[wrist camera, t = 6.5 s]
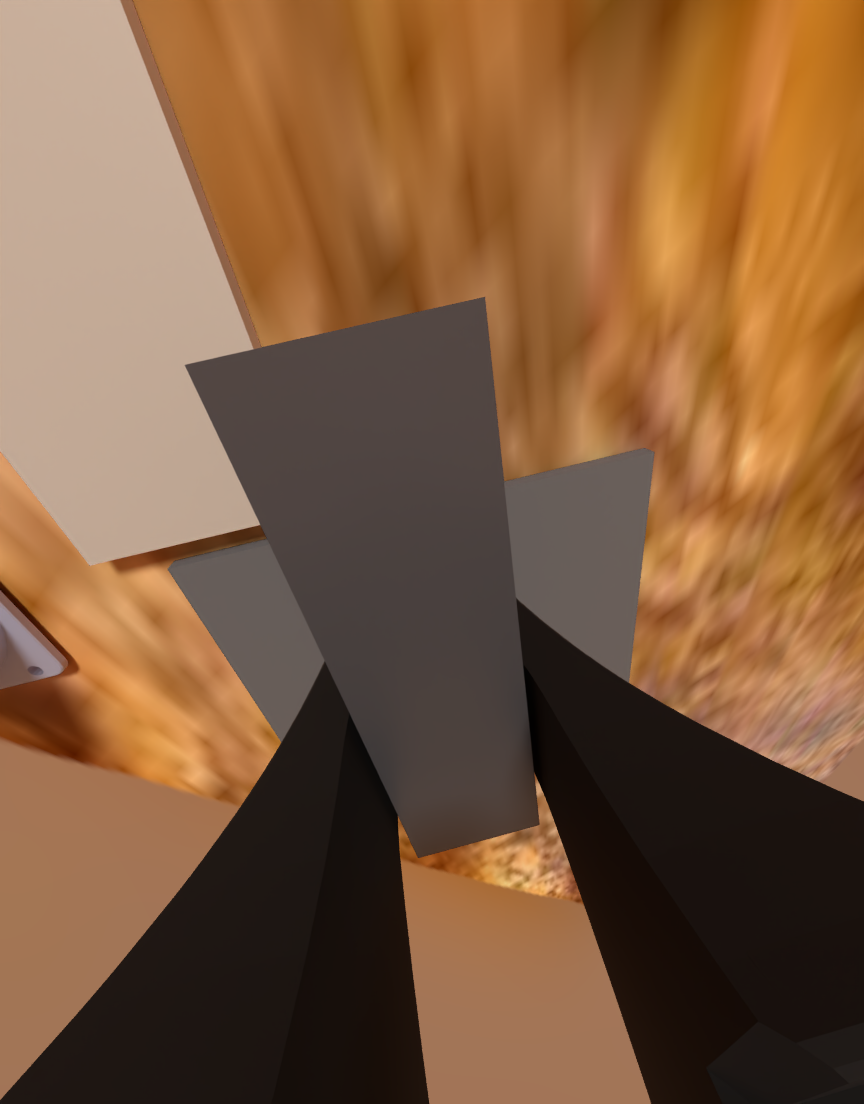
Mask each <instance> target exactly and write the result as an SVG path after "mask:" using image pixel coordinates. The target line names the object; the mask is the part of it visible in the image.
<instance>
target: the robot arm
mask: <svg viewBox="0 0 864 1104" xmlns="http://www.w3.org/2000/svg"><path fill="white" fill-rule="evenodd" d="M516 602H517V612H518V622H519V631H520V641H521V651H522V660H523V670H524V680H525V689H526V699H527V709H528V718H529V728H530V738H531V747H532V757H533V767H534V773H535V775H536V777H537V779H538V782H539V784H540V786H541V788H542V791H543V793H544V796H545V798H546V801H547V803H548V805H549V808H550V810H551V813H552V816H553V819H554V822H555V824H556V827H557V830H558V833H559V835H560V838H561V841H562V844H563V847H564V849H565V852H566V855H567V858H568V861H569V863H570V866H571V869H572V872H573V875H574V878H575V880H576V883H577V886H578V889H579V892H580V895H581V897H582V900H583V903H584V906H585V909H586V912H587V915H588V917H589V920H590V923H591V926H592V929H593V932H594V935H595V938H596V941H597V944H598V946H599V949H600V952H601V955H602V958H603V961H604V964H605V967H606V970H607V973H608V976H609V978H610V981H611V984H612V987H613V990H614V993H615V996H616V999H617V1002H618V1005H619V1008H620V1011H621V1014H622V1017H623V1020H624V1023H625V1026H626V1029H627V1032H628V1035H629V1038H630V1041H631V1044H632V1047H633V1049H634V1053H635V1056H636V1059H637V1062H638V1065H639V1068H640V1071H641V1074H642V1077H643V1080H644V1083H645V1086H646V1089H647V1092H648V1095H649V1098H650V1101H651V1104H864V801H861V800H859V799H856V798H854V797H852V796H849V795H847V794H845V793H842V792H840V791H838V790H836V789H833V788H831V787H829V786H827V785H825V784H822V783H820V782H818V781H816V780H814V779H812V778H809V777H807V776H805V775H803V774H801V773H798V772H796V771H794V770H792V769H790V768H787V767H785V766H783V765H781V764H779V763H776V762H774V761H772V760H770V759H768V758H766V757H764V756H762V755H760V754H758V753H756V752H754V751H752V750H750V749H748V748H746V747H744V746H742V745H740V744H739V743H737V742H735V741H733V740H731V739H729V738H727V737H725V736H723V735H721V734H719V733H717V732H715V731H713V730H711V729H709V728H707V727H705V726H703V725H701V724H699V723H697V722H695V721H693V720H692V719H690V718H688V717H686V716H684V715H683V714H681V713H679V712H677V711H676V710H674V709H672V708H670V707H668V706H667V705H665V704H663V703H661V702H660V701H658V700H656V699H655V698H653V697H651V696H650V695H648V694H646V693H645V692H643V691H641V690H640V689H638V688H636V687H635V686H633V685H631V684H630V683H628V682H627V681H625V680H624V679H622V678H621V677H619V676H617V675H616V674H614V673H613V672H611V671H610V670H608V669H607V668H605V667H604V666H603V665H601V664H600V663H598V662H597V661H595V660H594V659H592V658H591V657H590V656H588V655H587V654H585V653H584V652H583V651H581V650H580V649H578V648H577V647H576V646H574V645H573V644H572V643H570V642H569V641H568V640H566V639H565V638H564V637H563V636H561V635H560V634H559V633H557V632H556V631H555V630H554V629H552V628H551V627H550V626H548V625H547V624H546V623H545V622H544V621H542V620H541V619H540V618H539V617H538V616H536V615H535V614H534V613H533V612H532V611H531V610H529V609H528V608H527V607H526V606H525V605H524V604H523V603H521V602H520V601H519V600H518V599H517V598H516ZM67 666H68V661H67V659H66V658H65V657H64V656H63V655H62V654H61V653H60V652H59V651H58V650H57V649H56V648H55V647H54V646H53V645H52V643H51V642H50V641H49V640H48V639H47V638H46V637H45V636H44V635H43V634H42V633H41V632H40V631H39V630H38V629H37V628H36V627H35V626H34V625H33V624H32V623H31V622H30V621H29V620H28V619H27V618H26V617H25V615H24V614H23V613H22V612H21V611H20V610H19V609H18V608H17V607H16V606H15V605H14V604H13V603H12V602H11V601H10V600H9V599H8V598H7V597H6V596H5V595H4V594H3V593H2V592H1V591H0V689H4V688H8V687H12V686H16V685H20V684H24V683H28V682H32V681H36V680H40V679H44V678H48V677H52V676H56V675H59V674H61V673H62V672H63V671H64V670H65V668H66V667H67ZM0 1104H429V1098H428V1091H427V1083H426V1076H425V1069H424V1061H423V1053H422V1045H421V1038H420V1029H419V1021H418V1013H417V1004H416V997H415V989H414V980H413V972H412V964H411V954H410V946H409V937H408V929H407V918H406V910H405V900H404V891H403V882H402V871H401V861H400V851H399V835H398V814H397V812H396V810H395V808H394V806H393V804H392V802H391V800H390V797H389V795H388V793H387V791H386V789H385V787H384V785H383V783H382V781H381V778H380V776H379V774H378V772H377V770H376V768H375V766H374V764H373V762H372V760H371V757H370V755H369V753H368V751H367V749H366V747H365V745H364V743H363V741H362V738H361V736H360V734H359V732H358V730H357V728H356V726H355V724H354V722H353V719H352V717H351V715H350V713H349V711H348V709H347V707H346V705H345V703H344V700H343V698H342V696H341V694H340V692H339V690H338V688H337V686H336V684H335V681H334V679H333V677H332V675H331V673H330V671H329V669H328V667H327V665H326V662H325V661H324V663H323V665H322V667H321V670H320V672H319V674H318V676H317V678H316V680H315V682H314V684H313V686H312V688H311V689H310V691H309V693H308V695H307V697H306V699H305V701H304V703H303V705H302V707H301V709H300V711H299V713H298V714H297V716H296V718H295V720H294V721H293V723H292V725H291V727H290V728H289V730H288V732H287V734H286V735H285V737H284V739H283V741H282V742H281V744H280V746H279V748H278V749H277V751H276V753H275V754H274V756H273V758H272V759H271V761H270V762H269V764H268V766H267V767H266V769H265V770H264V772H263V774H262V775H261V777H260V778H259V780H258V781H257V783H256V784H255V786H254V787H253V789H252V790H251V792H250V793H249V795H248V796H247V798H246V799H245V801H244V802H243V804H242V805H241V807H240V808H239V810H238V811H237V813H236V814H235V816H234V817H233V818H232V820H231V821H230V823H229V824H228V826H227V827H226V828H225V829H224V831H223V832H222V834H221V835H220V837H219V838H218V839H217V841H216V842H215V843H214V845H213V846H212V848H211V849H210V850H209V852H208V853H207V855H206V856H205V857H204V859H203V860H202V861H201V863H200V864H199V865H198V867H197V868H196V869H195V871H194V872H193V873H192V875H191V876H190V877H189V878H188V880H187V881H186V882H185V884H184V885H183V886H182V888H181V889H180V890H179V891H178V893H177V894H176V895H175V896H174V898H173V899H172V900H171V901H170V903H169V904H168V905H167V906H166V907H165V909H164V910H163V911H162V912H161V914H160V915H159V916H158V917H157V919H156V920H155V921H154V922H153V924H152V925H151V926H150V927H149V928H148V930H147V931H146V932H145V934H144V935H143V936H142V937H141V939H140V940H139V941H138V942H137V943H136V945H135V946H134V947H133V948H132V950H131V951H130V952H129V953H128V954H127V956H126V957H125V958H124V959H123V961H122V962H121V963H120V964H119V965H118V967H117V968H116V969H115V970H114V972H113V973H112V974H111V975H110V976H109V977H108V979H107V980H106V981H105V982H104V983H103V984H102V986H101V987H100V988H99V989H98V990H97V992H96V993H95V994H94V995H93V996H92V997H91V999H90V1000H89V1001H88V1002H87V1003H86V1004H85V1005H84V1007H83V1008H82V1009H81V1010H80V1011H79V1012H78V1014H77V1015H76V1016H75V1017H74V1018H73V1019H72V1020H71V1022H70V1023H69V1024H68V1025H67V1026H66V1027H65V1028H64V1029H63V1030H62V1032H61V1033H60V1034H59V1035H58V1036H57V1037H56V1038H55V1039H54V1040H53V1042H52V1043H51V1044H50V1045H49V1046H48V1047H47V1048H46V1050H45V1051H44V1052H43V1053H42V1054H41V1055H40V1056H39V1057H38V1058H37V1060H36V1061H35V1062H34V1063H33V1064H32V1065H31V1067H29V1069H28V1070H27V1071H26V1072H25V1073H24V1074H23V1075H22V1076H21V1077H20V1079H19V1080H18V1081H17V1082H16V1083H15V1084H14V1085H13V1086H12V1088H11V1089H10V1090H9V1091H8V1092H7V1093H6V1094H5V1095H4V1097H3V1098H2V1099H1V1100H0Z"/></svg>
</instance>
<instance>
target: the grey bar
mask: <svg viewBox="0 0 864 1104" xmlns="http://www.w3.org/2000/svg"><path fill="white" fill-rule="evenodd" d="M185 367H186V369H187V371H188V373H189V375H190V378H191V380H192V382H193V384H194V386H195V388H196V390H197V392H198V394H199V397H200V399H201V401H202V403H203V405H204V407H205V409H206V411H207V413H208V416H209V418H210V420H211V422H212V424H213V426H214V428H215V430H216V432H217V435H218V437H219V439H220V441H221V443H222V445H223V447H224V449H225V451H226V454H227V456H228V458H229V460H230V462H231V464H232V466H233V468H234V470H235V473H236V475H237V477H238V479H239V481H240V483H241V485H242V487H243V489H244V492H245V494H246V496H247V498H248V500H249V502H250V504H251V506H252V508H253V511H254V513H255V515H256V517H257V519H258V521H259V523H260V525H261V527H262V530H263V532H264V534H265V536H266V538H267V540H268V542H269V544H270V546H271V548H272V551H273V553H274V555H275V557H276V559H277V561H278V563H279V565H280V567H281V570H282V572H283V574H284V576H285V578H286V580H287V582H288V584H289V586H290V589H291V591H292V593H293V595H294V597H295V599H296V601H297V603H298V605H299V608H300V610H301V612H302V614H303V616H304V618H305V620H306V622H307V624H308V627H309V629H310V631H311V633H312V635H313V637H314V639H315V641H316V643H317V646H318V648H319V650H320V652H321V654H322V656H323V658H324V660H325V662H326V665H327V667H328V669H329V671H330V673H331V675H332V677H333V679H334V681H335V684H336V686H337V688H338V690H339V692H340V694H341V696H342V698H343V700H344V703H345V705H346V707H347V709H348V711H349V713H350V715H351V717H352V719H353V722H354V724H355V726H356V728H357V730H358V732H359V734H360V736H361V738H362V741H363V743H364V745H365V747H366V749H367V751H368V753H369V755H370V757H371V760H372V762H373V764H374V766H375V768H376V770H377V772H378V774H379V776H380V778H381V781H382V783H383V785H384V787H385V789H386V791H387V793H388V795H389V797H390V800H391V802H392V804H393V806H394V808H395V810H396V812H397V814H398V816H399V819H400V821H401V823H402V825H403V827H404V829H405V831H406V833H407V835H408V838H409V840H410V842H411V844H412V846H413V848H414V850H415V852H416V854H417V857H418V858H420V857H424V856H428V855H431V854H435V853H439V852H442V851H446V850H449V849H453V848H457V847H460V846H464V845H468V844H471V843H475V842H479V841H482V840H486V839H490V838H493V837H497V836H501V835H504V834H508V833H512V832H515V831H519V830H523V829H526V828H530V827H534V826H537V825H539V815H538V805H537V796H536V786H535V776H534V767H533V757H532V747H531V738H530V728H529V718H528V709H527V699H526V689H525V680H524V670H523V660H522V651H521V641H520V631H519V622H518V612H517V602H516V593H515V583H514V573H513V564H512V554H511V545H510V535H509V525H508V516H507V506H506V496H505V487H504V477H503V467H502V458H501V448H500V438H499V429H498V419H497V409H496V400H495V390H494V380H493V371H492V361H491V351H490V342H489V332H488V322H487V313H486V303H485V297H483V298H478V299H474V300H469V301H465V302H460V303H456V304H452V305H447V306H443V307H438V308H434V309H429V310H425V311H421V312H416V313H412V314H407V315H403V316H398V317H394V318H390V319H385V320H381V321H376V322H372V323H368V324H363V325H359V326H354V327H350V328H345V329H341V330H337V331H332V332H328V333H323V334H319V335H314V336H310V337H306V338H301V339H297V340H292V341H288V342H283V343H279V344H275V345H270V346H266V347H261V348H257V349H252V350H248V351H244V352H239V353H235V354H230V355H226V356H222V357H217V358H213V359H208V360H204V361H199V362H195V363H191V364H186V365H185Z"/></svg>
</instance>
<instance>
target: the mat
mask: <svg viewBox="0 0 864 1104" xmlns="http://www.w3.org/2000/svg"><path fill="white" fill-rule="evenodd" d="M653 460H654V452H653V451H651V450H648V449H646V448H643V449H639V450H634V451H630V452H626V453H622V454H618V455H614V456H609V457H605V458H601V459H597V460H593V461H589V462H584V463H580V464H576V465H572V466H568V467H564V468H559V469H555V470H551V471H547V472H543V473H539V474H534V475H530V476H526V477H522V478H518V479H514V480H509V481H505V482H504V487H505V496H506V506H507V516H508V525H509V535H510V545H511V554H512V564H513V573H514V583H515V593H516V598H517V599H518V600H519V601H520V602H521V603H523V604H524V605H525V606H526V607H527V608H528V609H529V610H531V611H532V612H533V613H534V614H535V615H536V616H538V617H539V618H540V619H541V620H542V621H544V622H545V623H546V624H547V625H548V626H550V627H551V628H552V629H554V630H555V631H556V632H557V633H559V634H560V635H561V636H563V637H564V638H565V639H566V640H568V641H569V642H570V643H572V644H573V645H574V646H576V647H577V648H578V649H580V650H581V651H583V652H584V653H585V654H587V655H588V656H590V657H591V658H592V659H594V660H595V661H597V662H598V663H600V664H601V665H603V666H604V667H605V668H607V669H608V670H610V671H611V672H613V673H614V674H616V675H617V676H619V677H621V678H622V679H624V680H625V681H627V682H628V683H629V677H630V668H631V659H632V650H633V641H634V632H635V623H636V614H637V605H638V596H639V587H640V578H641V569H642V560H643V551H644V542H645V533H646V523H647V514H648V505H649V496H650V487H651V478H652V469H653ZM168 571H169V572H170V574H171V575H172V577H173V578H174V580H175V581H176V583H177V584H178V586H179V587H180V589H181V590H182V592H183V593H184V595H185V596H186V598H187V599H188V601H189V603H190V604H191V606H192V607H193V609H194V610H195V612H196V613H197V615H198V616H199V618H200V619H201V621H202V622H203V624H204V625H205V627H206V628H207V630H208V631H209V633H210V634H211V636H212V637H213V639H214V640H215V642H216V643H217V645H218V647H219V648H220V650H221V651H222V653H223V654H224V656H225V657H226V659H227V660H228V662H229V663H230V665H231V666H232V668H233V669H234V671H235V672H236V674H237V675H238V677H239V678H240V680H241V681H242V683H243V684H244V686H245V687H246V689H247V690H248V692H249V694H250V695H251V697H252V698H253V700H254V701H255V703H256V704H257V706H258V707H259V709H260V710H261V712H262V713H263V715H264V716H265V718H266V719H267V721H268V722H269V724H270V725H271V727H272V728H273V730H274V731H275V733H276V734H277V736H278V738H279V739H280V741H281V742H282V741H283V739H284V737H285V735H286V734H287V732H288V730H289V728H290V727H291V725H292V723H293V721H294V720H295V718H296V716H297V714H298V713H299V711H300V709H301V707H302V705H303V703H304V701H305V699H306V697H307V695H308V693H309V691H310V689H311V688H312V686H313V684H314V682H315V680H316V678H317V676H318V674H319V672H320V670H321V667H322V665H323V663H324V661H325V660H324V658H323V656H322V654H321V652H320V650H319V648H318V646H317V643H316V641H315V639H314V637H313V635H312V633H311V631H310V629H309V627H308V624H307V622H306V620H305V618H304V616H303V614H302V612H301V610H300V608H299V605H298V603H297V601H296V599H295V597H294V595H293V593H292V591H291V589H290V586H289V584H288V582H287V580H286V578H285V576H284V574H283V572H282V570H281V567H280V565H279V563H278V561H277V559H276V557H275V555H274V553H273V551H272V548H271V546H270V544H269V542H268V540H267V539H264V540H259V541H255V542H251V543H247V544H243V545H239V546H234V547H230V548H226V549H222V550H218V551H214V552H209V553H205V554H201V555H197V556H193V557H189V558H184V559H180V560H176V561H174V562H173V563H172V564H171V566H170V567H169V568H168Z"/></svg>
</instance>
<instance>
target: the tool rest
mask: <svg viewBox="0 0 864 1104" xmlns="http://www.w3.org/2000/svg"><path fill="white" fill-rule="evenodd" d="M257 348H261V345H260V342H259V340H258V337H257V334H256V332H255V329H254V326H253V324H252V321H251V318H250V315H249V313H248V310H247V307H246V305H245V302H244V299H243V297H242V294H241V291H240V289H239V286H238V283H237V281H236V278H235V275H234V273H233V270H232V267H231V264H230V262H229V259H228V256H227V254H226V251H225V248H224V246H223V243H222V240H221V238H220V235H219V232H218V230H217V227H216V224H215V222H214V219H213V216H212V213H211V211H210V208H209V205H208V203H207V200H206V197H205V195H204V192H203V189H202V187H201V184H200V181H199V179H198V176H197V173H196V171H195V168H194V165H193V162H192V160H191V157H190V154H189V152H188V149H187V146H186V144H185V141H184V138H183V136H182V133H181V130H180V128H179V125H178V122H177V120H176V117H175V114H174V111H173V109H172V106H171V103H170V101H169V98H168V95H167V93H166V90H165V87H164V85H163V82H162V79H161V77H160V74H159V71H158V68H157V66H156V63H155V60H154V58H153V55H152V52H151V50H150V47H149V44H148V42H147V39H146V36H145V34H144V31H143V28H142V26H141V23H140V20H139V17H138V15H137V12H136V9H135V7H134V4H133V1H132V0H0V451H1V453H2V454H3V455H4V456H5V458H6V459H7V460H8V462H9V463H10V464H11V465H12V467H13V468H14V469H15V470H16V472H17V473H18V474H19V476H20V477H21V478H22V479H23V481H24V482H25V483H26V485H27V486H28V487H29V488H30V490H31V491H32V492H33V494H34V495H35V496H36V497H37V499H38V500H39V501H40V502H41V504H42V505H43V506H44V508H45V509H46V510H47V511H48V513H49V514H50V515H51V517H52V518H53V519H54V520H55V522H56V523H57V524H58V526H59V527H60V528H61V529H62V531H63V532H64V533H65V534H66V536H67V537H68V538H69V540H70V541H71V542H72V543H73V545H74V546H75V547H76V549H77V550H78V551H79V552H80V554H81V555H82V556H83V558H84V559H85V560H86V561H87V563H88V564H89V565H94V564H99V563H103V562H107V561H111V560H115V559H120V558H124V557H128V556H132V555H136V554H141V553H145V552H149V551H153V550H157V549H161V548H166V547H170V546H174V545H178V544H182V543H187V542H191V541H195V540H199V539H203V538H208V537H212V536H216V535H220V534H224V533H229V532H233V531H237V530H241V529H245V528H250V527H254V526H258V525H260V523H259V521H258V519H257V517H256V515H255V513H254V511H253V508H252V506H251V504H250V502H249V500H248V498H247V496H246V494H245V492H244V489H243V487H242V485H241V483H240V481H239V479H238V477H237V475H236V473H235V470H234V468H233V466H232V464H231V462H230V460H229V458H228V456H227V454H226V451H225V449H224V447H223V445H222V443H221V441H220V439H219V437H218V435H217V432H216V430H215V428H214V426H213V424H212V422H211V420H210V418H209V416H208V413H207V411H206V409H205V407H204V405H203V403H202V401H201V399H200V397H199V394H198V392H197V390H196V388H195V386H194V384H193V382H192V380H191V378H190V375H189V373H188V371H187V369H186V367H185V365H186V364H191V363H195V362H199V361H204V360H208V359H213V358H217V357H222V356H226V355H230V354H235V353H239V352H244V351H248V350H252V349H257Z"/></svg>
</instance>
